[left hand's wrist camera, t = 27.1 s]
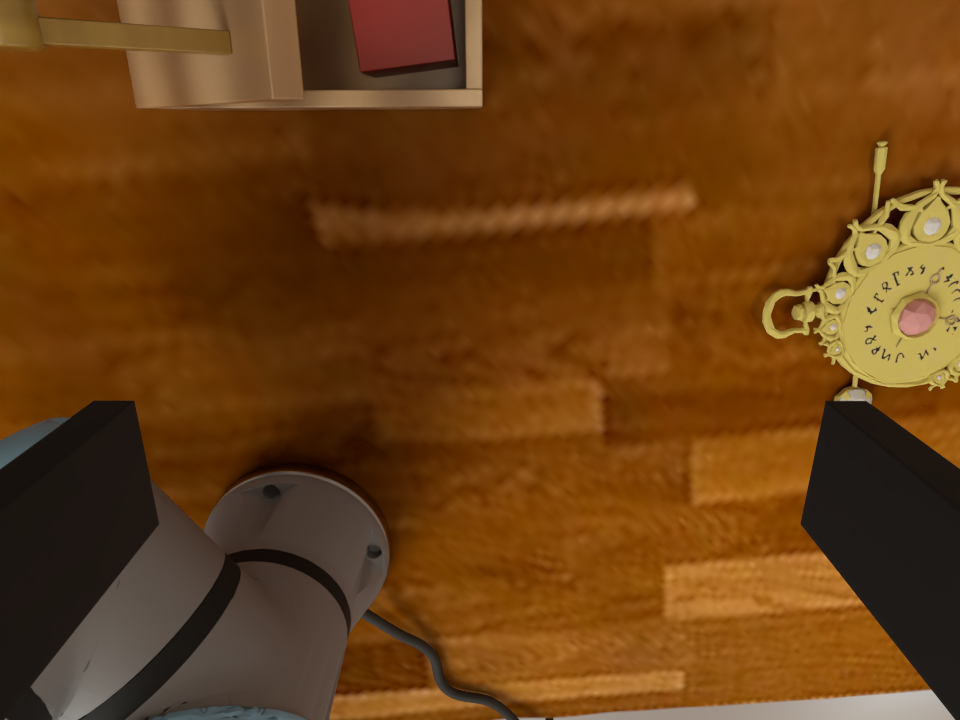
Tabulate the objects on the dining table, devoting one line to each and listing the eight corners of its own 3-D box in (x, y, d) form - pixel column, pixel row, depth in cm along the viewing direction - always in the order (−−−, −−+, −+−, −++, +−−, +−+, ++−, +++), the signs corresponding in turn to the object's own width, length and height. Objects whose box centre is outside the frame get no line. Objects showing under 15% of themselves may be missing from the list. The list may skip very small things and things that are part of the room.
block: (446, -30, 39) (441, -52, 34) (458, 66, 41) (455, 59, 36) (359, -18, 39) (341, -38, 34) (375, 78, 41) (360, 72, 36)
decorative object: (1026, 413, 48) (763, 444, 48) (1000, 400, 51) (749, 429, 50) (1090, 122, 41) (781, 155, 41) (1056, 122, 44) (763, 153, 43)
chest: (481, -68, 39) (481, -123, 30) (482, 109, 43) (482, 106, 34) (197, -66, 39) (113, -120, 30) (221, 110, 43) (152, 108, 34)
